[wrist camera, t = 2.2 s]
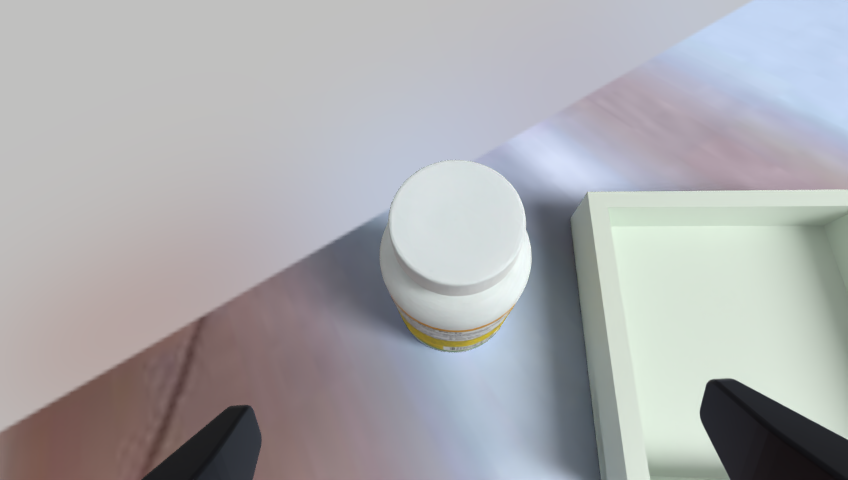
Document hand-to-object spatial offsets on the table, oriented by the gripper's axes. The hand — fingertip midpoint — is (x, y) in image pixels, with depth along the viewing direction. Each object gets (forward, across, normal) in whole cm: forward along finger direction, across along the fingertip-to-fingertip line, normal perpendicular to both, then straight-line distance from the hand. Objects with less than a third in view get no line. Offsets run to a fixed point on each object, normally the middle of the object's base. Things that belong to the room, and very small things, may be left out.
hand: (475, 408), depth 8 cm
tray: (+10, -12, +7) cm, 17 cm away
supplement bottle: (+12, 0, +5) cm, 13 cm away
